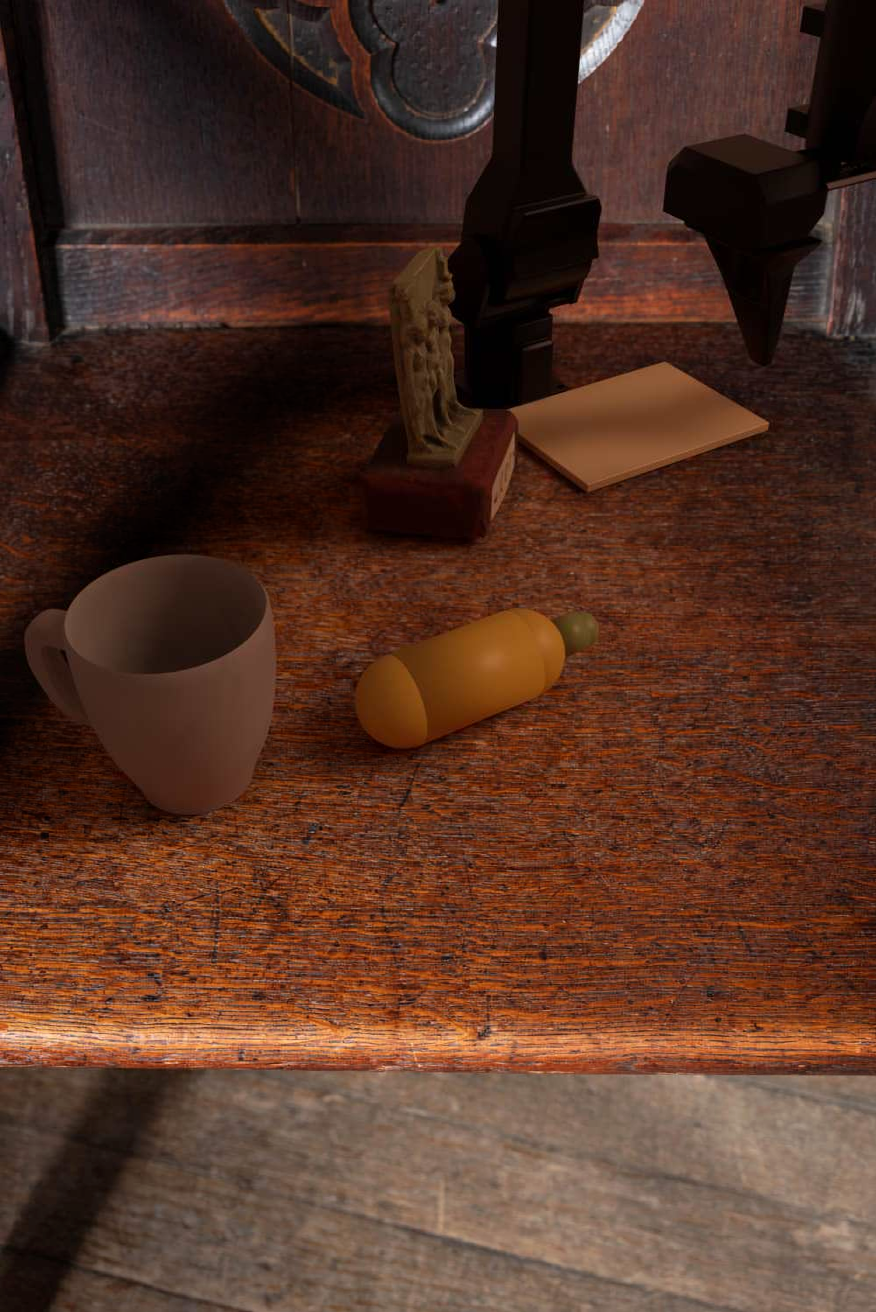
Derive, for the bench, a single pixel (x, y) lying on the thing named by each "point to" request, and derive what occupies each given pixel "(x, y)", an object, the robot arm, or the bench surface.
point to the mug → (167, 674)
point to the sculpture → (434, 424)
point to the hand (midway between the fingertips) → (831, 340)
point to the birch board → (631, 425)
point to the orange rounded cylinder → (467, 674)
